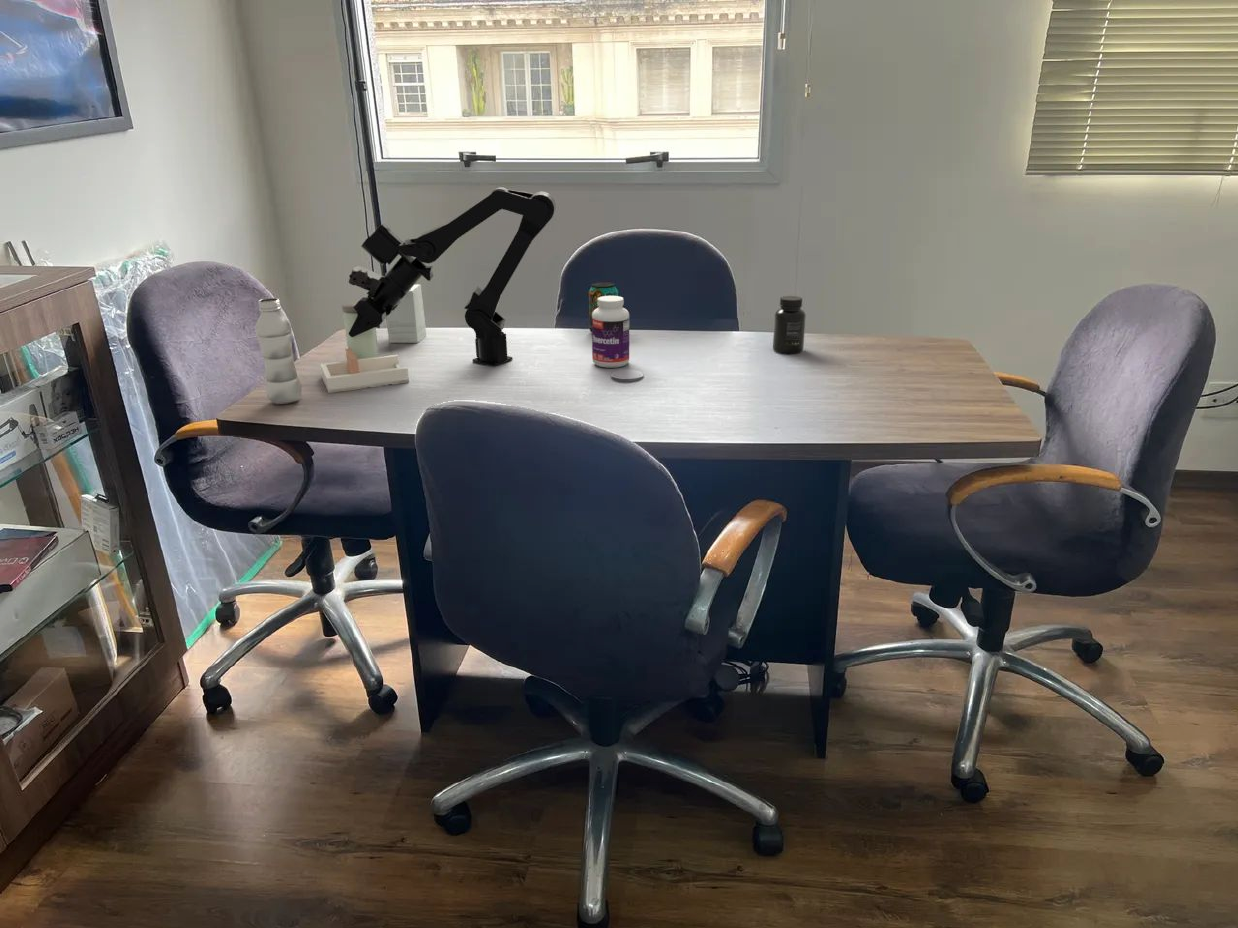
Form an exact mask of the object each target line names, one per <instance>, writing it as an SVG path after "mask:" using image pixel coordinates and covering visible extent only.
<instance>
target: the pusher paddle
mask: <svg viewBox="0 0 1238 928" xmlns="http://www.w3.org/2000/svg"><path fill="white" fill-rule="evenodd" d="M345 356H346V361H347V365H348V372H349V374H356V373H359V366H358V359H357V357H356V355H355V354H354V352H353V350H352V349H348V348H345Z"/></svg>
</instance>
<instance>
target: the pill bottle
mask: <svg viewBox="0 0 1238 928" xmlns="http://www.w3.org/2000/svg"><path fill="white" fill-rule="evenodd" d="M624 303H625V300H624V297H622V296H619V295H618V296H602V297H599V298H598V303H597V304H598V306H599V308H597V309H595V310H594V311H593V313H592V332H591V339H592V340H591V341H592V342H591V345H592V346H591V349H592V350H591V352H592V357H591V358H592V362H593V364H595V366H597V367H600V368H606V369H610V368H611V369H612V368H613V369H614V368H621V367H624V366H626V365H628V363H629V361H630V312H629V311H628V310H627V309H626V308H624V307H623V306H624Z"/></svg>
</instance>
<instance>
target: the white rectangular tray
mask: <svg viewBox="0 0 1238 928" xmlns="http://www.w3.org/2000/svg"><path fill="white" fill-rule="evenodd" d="M399 360H400V359H399V354H392V355H385V356H379V357H374V358H366V359H358V366H359V373H356V374H349V372H348V365H347V360H344V361H336V362H335V361H334V362H326V363H320V364H319V365H320V372H321V378H322V380H323V383H324V385H325V387H326V390H327V392H328V394H331V393H337V392H346V391H353V390H361V388H363V389H368V388H367V387H370V388H373V387H372V386H377V387H380V386H379V385H385V386H388V385H387V384H392V385H399V384H407V383H410V379H409V378H410V377H409V369H408V367H407V366H402V365H401V364H400V361H399Z"/></svg>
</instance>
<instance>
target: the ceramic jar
mask: <svg viewBox="0 0 1238 928" xmlns="http://www.w3.org/2000/svg"><path fill="white" fill-rule="evenodd" d="M357 303H358V301H351V302H346V303H343V304H341V311H342V317H343V325H344V331H345V332H344V333H345V337H346V339H345V340H346V345H347V349H352V350H353V352H354V354H355V355H356V357H357V359H366V358H374V357H380V353H379V345H378V337H377V336H378V334H377V328H376V327H375V328H372V329H370V330H368V331H366V332H363V333H361V334H359V335H357V336H354V337H351V336H350V335H349V332H350V330H351V328H352V326H353V324H354V322H355V320H356V318H357V311H356V310H355V309H354V308H353V307H354V306H355V305H356V304H357Z"/></svg>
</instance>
